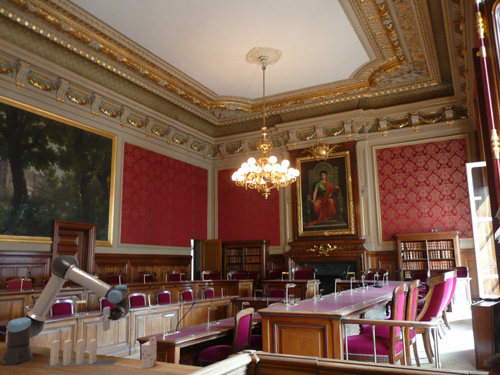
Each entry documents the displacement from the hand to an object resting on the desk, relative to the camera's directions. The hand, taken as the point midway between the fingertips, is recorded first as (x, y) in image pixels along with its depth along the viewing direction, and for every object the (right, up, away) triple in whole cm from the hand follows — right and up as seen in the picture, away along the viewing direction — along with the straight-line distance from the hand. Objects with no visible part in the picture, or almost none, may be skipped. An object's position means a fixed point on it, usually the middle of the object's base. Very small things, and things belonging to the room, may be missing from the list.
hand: (103, 319), depth 228 cm
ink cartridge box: (+27, -23, -7) cm, 36 cm away
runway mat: (-12, -25, +1) cm, 28 cm away
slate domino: (0, -7, +4) cm, 9 cm away
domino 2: (-20, -25, +1) cm, 32 cm away
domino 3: (-13, -25, +1) cm, 28 cm away
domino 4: (-6, -24, +1) cm, 25 cm away
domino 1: (-27, -25, +1) cm, 37 cm away
